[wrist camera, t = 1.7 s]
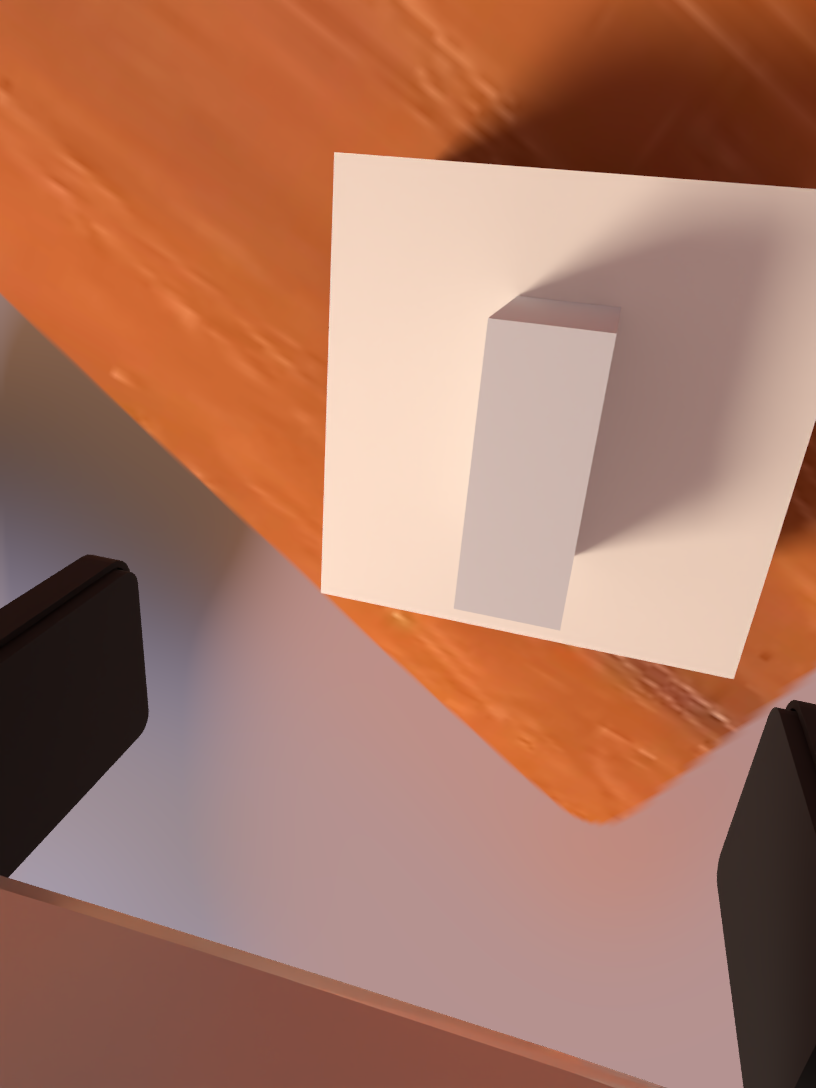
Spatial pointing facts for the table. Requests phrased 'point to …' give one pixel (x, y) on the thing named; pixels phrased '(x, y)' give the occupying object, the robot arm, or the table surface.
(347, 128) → the table surface
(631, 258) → the lid
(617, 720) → the table surface
